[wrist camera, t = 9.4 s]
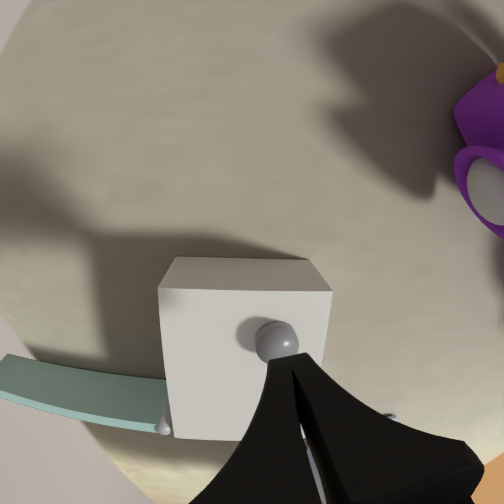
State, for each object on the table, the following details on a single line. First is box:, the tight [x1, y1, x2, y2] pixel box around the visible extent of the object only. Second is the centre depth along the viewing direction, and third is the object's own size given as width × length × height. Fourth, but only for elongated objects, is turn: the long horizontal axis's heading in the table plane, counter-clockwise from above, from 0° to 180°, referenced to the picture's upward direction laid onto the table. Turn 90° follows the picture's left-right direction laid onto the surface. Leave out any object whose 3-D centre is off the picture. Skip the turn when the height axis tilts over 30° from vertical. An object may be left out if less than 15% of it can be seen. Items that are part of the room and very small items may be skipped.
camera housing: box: [158, 256, 333, 441], centre depth 18 cm, size 11×8×6 cm
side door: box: [0, 354, 172, 435], centre depth 19 cm, size 15×1×5 cm, turn 87°
